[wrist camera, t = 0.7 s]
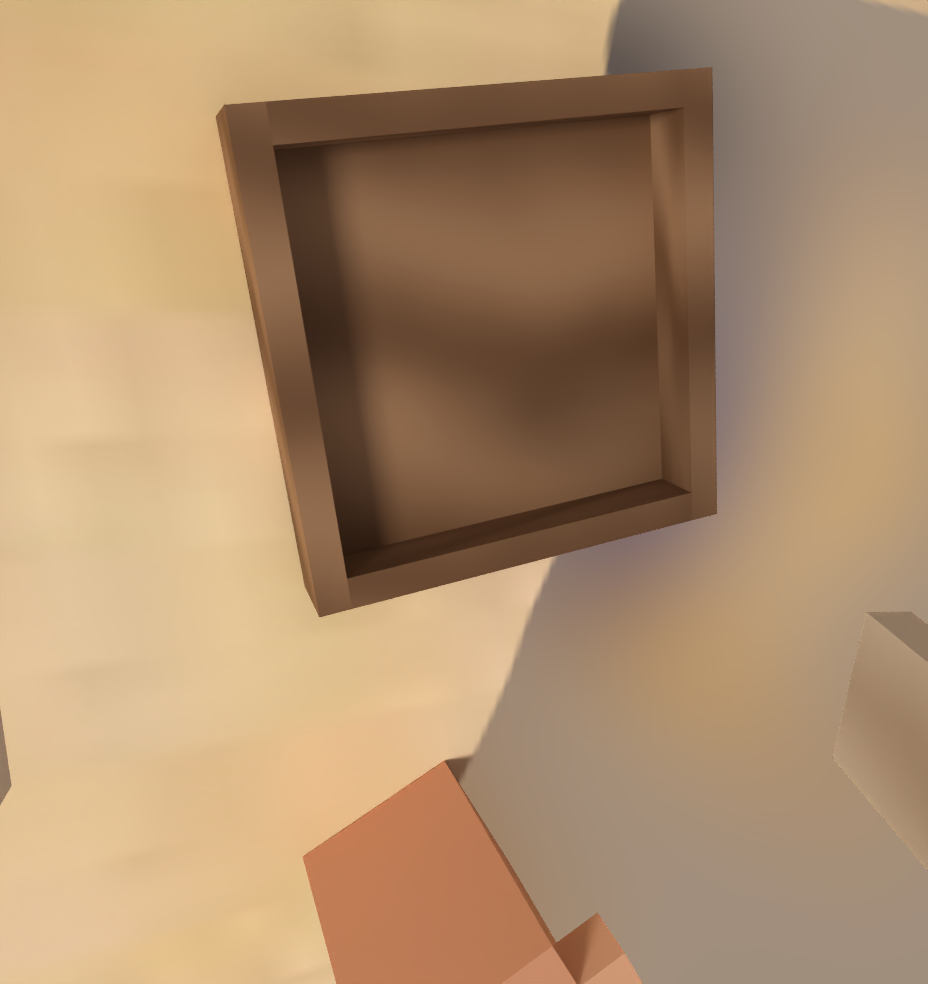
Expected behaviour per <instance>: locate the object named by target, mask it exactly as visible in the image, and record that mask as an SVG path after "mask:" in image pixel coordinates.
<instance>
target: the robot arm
mask: <svg viewBox="0 0 928 984" xmlns="http://www.w3.org/2000/svg"><path fill="white" fill-rule="evenodd" d="M833 759H834V760H835V761H836V763H837V764H838V765H839V766H840V767H841V769H842V770H843V771H844V772H845V773H846V774H847V776H848V777H849V778H850V779H851V780H852V781H853V783H854V784H855V785H856V786H857V788H858V789H859V790H860V791H861V792H862V793H863V795H864V796H865V797H866V798H867V799H868V801H869V802H870V803H871V804H872V805H873V806H874V807H875V809H876V810H877V811H878V812H879V814H880V815H881V816H882V817H883V818H884V820H886V822H887V823H888V824H889V825H890V826H891V828H892V829H893V830H894V831H895V833H896V834H897V835H898V836H899V837H900V838H901V840H902V841H903V842H904V843H905V844H906V846H907V847H908V848H909V849H910V850H911V851H912V853H913V854H914V855H915V856H916V857H917V859H918V860H919V861H920V862H921V863H922V864H923V866H924V867H925V868H926V869H927V870H928V624H926V623H925V622H924V621H922V620H921V619H920V618H918V617H917V616H916V615H914V614H913V613H912V612H866V616H865V620H864V625H863V629H862V633H861V637H860V642H859V646H858V650H857V655H856V659H855V664H854V668H853V672H852V677H851V680H850V685H849V689H848V693H847V698H846V702H845V706H844V711H843V715H842V719H841V723H840V728H839V732H838V736H837V741H836V745H835V750H834V754H833ZM10 787H11V779H10V773H9V766H8V759H7V752H6V745H5V738H4V731H3V725H2V718H1V711H0V805H1V803H2V801H3V799H4V798H5V796H6V794H7V792H8V791H9V789H10Z"/></svg>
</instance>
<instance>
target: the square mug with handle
mask: <svg viewBox="0 0 928 984" xmlns="http://www.w3.org/2000/svg"><path fill="white" fill-rule="evenodd" d="M303 860H304V863H305V867H306V871H307V875H308V878H309V882H310V886H311V890H312V893H313V897H314V901H315V905H316V908H317V912H318V916H319V920H320V923H321V927H322V931H323V935H324V938H325V942H326V946H327V950H328V953H329V957H330V961H331V965H332V968H333V972H334V976H335V980H336V983H337V984H643V983H642V982H641V980H640V978H639V977H638V975H637V973H636V972H635V970H634V968H633V966H632V965H631V963H630V961H629V960H628V958H627V956H626V954H625V953H624V951H623V950H622V949H621V947H620V945H619V944H618V942H617V941H616V939H615V938H614V937H613V935H612V934H611V932H610V931H609V929H608V928H607V926H606V925H605V923H604V922H603V920H602V919H601V917H600V916H599V914H598V913H596V914H595V915H594V916H592V917H591V918H590V919H588V920H587V921H585V922H584V923H583V924H581V925H580V926H579V927H578V928H576V929H575V930H573V931H572V932H571V933H569V934H568V935H567V936H565V937H564V938H562V939H561V940H560V941H558V942H557V943H556V941H555V939H554V938H553V936H552V934H551V933H550V931H549V929H548V928H547V926H546V924H545V922H544V921H543V919H542V917H541V916H540V914H539V912H538V910H537V909H536V907H535V906H534V904H533V902H532V900H531V899H530V897H529V895H528V894H527V892H526V890H525V889H524V887H523V885H522V883H521V882H520V880H519V878H518V877H517V875H516V873H515V872H514V870H513V868H512V866H511V865H510V863H509V862H508V860H507V858H506V857H505V855H504V854H503V852H502V850H501V849H500V847H499V846H498V844H497V843H496V841H495V839H494V838H493V836H492V835H491V833H490V832H489V830H488V829H487V827H486V825H485V824H484V822H483V821H482V819H481V817H480V816H479V814H478V813H477V811H476V810H475V808H474V806H473V805H472V803H471V802H470V800H469V798H468V797H467V795H466V794H465V792H464V791H463V789H462V787H461V786H460V784H459V783H458V781H457V780H456V778H455V776H454V775H453V773H452V772H451V770H450V769H449V767H448V765H447V764H446V762H445V761H444V762H442V763H441V764H439V765H438V766H436V767H435V768H433V769H432V770H430V771H429V772H428V773H426V774H425V775H423V776H422V777H420V778H419V779H417V780H416V781H414V782H413V783H411V784H410V785H408V786H407V787H405V788H404V789H402V790H401V791H400V792H398V793H397V794H395V795H394V796H392V797H391V798H389V799H388V800H386V801H385V802H383V803H382V804H380V805H379V806H377V807H376V808H374V809H373V810H372V811H370V812H369V813H367V814H366V815H364V816H363V817H361V818H360V819H358V820H357V821H355V822H354V823H352V824H351V825H349V826H348V827H347V828H345V829H344V830H342V831H341V832H339V833H338V834H336V835H335V836H333V837H332V838H330V839H329V840H327V841H326V842H324V843H323V844H321V845H320V846H319V847H317V848H316V849H314V850H313V851H311V852H310V853H308V854H307V855H305V856H304V857H303Z"/></svg>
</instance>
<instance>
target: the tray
mask: <svg viewBox="0 0 928 984" xmlns="http://www.w3.org/2000/svg"><path fill="white" fill-rule="evenodd" d="M216 120H217V125H218V131H219V136H220V141H221V146H222V152H223V157H224V162H225V167H226V173H227V178H228V183H229V189H230V194H231V199H232V204H233V210H234V215H235V220H236V225H237V231H238V236H239V241H240V247H241V252H242V257H243V262H244V268H245V273H246V278H247V283H248V289H249V294H250V299H251V304H252V310H253V315H254V320H255V326H256V331H257V336H258V341H259V347H260V352H261V357H262V362H263V368H264V373H265V378H266V384H267V389H268V394H269V399H270V405H271V410H272V415H273V420H274V426H275V431H276V436H277V442H278V447H279V452H280V457H281V463H282V468H283V473H284V478H285V484H286V489H287V494H288V500H289V505H290V510H291V515H292V521H293V526H294V531H295V536H296V542H297V547H298V552H299V558H300V563H301V568H302V573H303V579H304V584H305V588H306V590H307V592H308V594H309V596H310V598H311V600H312V602H313V605H314V607H315V609H316V611H317V613H318V615H319V617H323V616H326V615H330V614H334V613H338V612H342V611H346V610H349V609H353V608H357V607H361V606H365V605H369V604H372V603H376V602H380V601H384V600H388V599H392V598H395V597H399V596H403V595H407V594H411V593H415V592H418V591H422V590H426V589H430V588H434V587H438V586H441V585H445V584H449V583H453V582H457V581H461V580H464V579H468V578H472V577H476V576H480V575H484V574H487V573H491V572H495V571H499V570H503V569H507V568H510V567H514V566H518V565H522V564H526V563H530V562H533V561H537V560H541V559H545V558H549V557H553V556H556V555H560V554H564V553H568V552H572V551H576V550H579V549H583V548H587V547H591V546H595V545H599V544H602V543H606V542H610V541H614V540H618V539H622V538H625V537H629V536H633V535H637V534H641V533H645V532H649V531H652V530H656V529H660V528H664V527H667V526H671V525H675V524H679V523H683V522H687V521H691V520H695V519H698V518H702V517H706V516H710V515H714V514H717V488H716V487H717V486H716V484H717V483H716V386H715V297H714V296H715V288H714V197H713V196H714V195H713V193H714V192H713V191H714V190H713V92H712V67H710V68H697V69H684V70H671V71H658V72H645V73H633V74H620V75H606V76H593V77H580V78H567V79H554V80H541V81H528V82H515V83H502V84H489V85H476V86H463V87H450V88H437V89H424V90H411V91H398V92H385V93H372V94H359V95H346V96H333V97H320V98H307V99H294V100H282V101H269V102H256V103H243V104H230V105H224V106H223V107H222V109H221V110H220V112H219V113H218V114H217V116H216Z"/></svg>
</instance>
